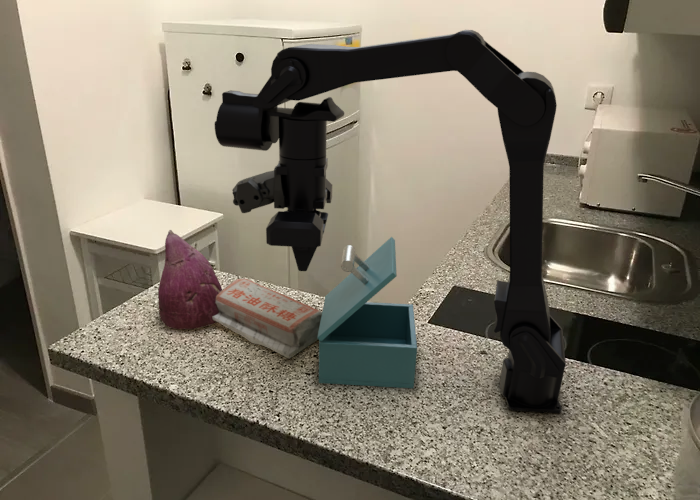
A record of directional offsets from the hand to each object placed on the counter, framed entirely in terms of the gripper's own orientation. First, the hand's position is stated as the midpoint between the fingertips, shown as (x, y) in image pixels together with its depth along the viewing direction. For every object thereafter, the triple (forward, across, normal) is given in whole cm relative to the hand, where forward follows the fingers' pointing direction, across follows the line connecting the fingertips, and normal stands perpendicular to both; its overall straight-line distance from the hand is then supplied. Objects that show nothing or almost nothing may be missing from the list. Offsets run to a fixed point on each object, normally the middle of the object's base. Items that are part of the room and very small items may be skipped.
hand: (302, 270), depth 77 cm
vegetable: (+13, -9, -18) cm, 24 cm away
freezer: (+13, +1, +9) cm, 16 cm away
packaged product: (+13, -7, -6) cm, 16 cm away
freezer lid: (+2, +1, +8) cm, 8 cm away
